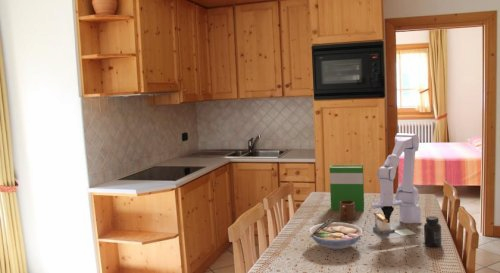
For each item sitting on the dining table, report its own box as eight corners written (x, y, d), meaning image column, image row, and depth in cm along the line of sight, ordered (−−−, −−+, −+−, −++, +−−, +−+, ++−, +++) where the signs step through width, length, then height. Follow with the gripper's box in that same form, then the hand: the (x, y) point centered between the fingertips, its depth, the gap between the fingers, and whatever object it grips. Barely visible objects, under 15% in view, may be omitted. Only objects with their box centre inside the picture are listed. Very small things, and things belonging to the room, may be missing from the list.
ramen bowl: (351, 261, 178) (351, 241, 177) (299, 252, 190) (298, 234, 190) (370, 241, 199) (370, 223, 198) (322, 234, 211) (322, 217, 211)
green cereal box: (364, 207, 252) (363, 165, 249) (363, 211, 245) (362, 167, 242) (332, 206, 257) (330, 165, 254) (331, 210, 250) (329, 167, 247)
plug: (385, 228, 212) (384, 216, 211) (389, 231, 208) (389, 218, 207) (377, 230, 211) (377, 217, 210) (382, 232, 207) (381, 220, 206)
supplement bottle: (441, 242, 193) (440, 215, 192) (442, 248, 187) (442, 220, 185) (423, 241, 195) (423, 214, 194) (424, 247, 189) (424, 219, 187)
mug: (349, 225, 222) (349, 207, 221) (335, 224, 226) (334, 205, 224) (357, 218, 232) (356, 201, 231) (342, 217, 236) (342, 199, 235)
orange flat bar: (378, 213, 216) (378, 211, 216) (389, 221, 203) (389, 219, 203) (373, 214, 216) (372, 212, 216) (383, 222, 203) (383, 220, 202)
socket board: (394, 224, 220) (394, 211, 219) (417, 235, 203) (417, 221, 202) (361, 229, 216) (361, 215, 215) (381, 241, 198) (381, 227, 197)
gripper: (376, 196, 198) (376, 226, 200) (406, 193, 201) (406, 222, 203) (368, 193, 205) (369, 222, 207) (397, 189, 208) (398, 218, 209)
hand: (387, 222), depth 205 cm, fingers closed, pressing on orange flat bar
